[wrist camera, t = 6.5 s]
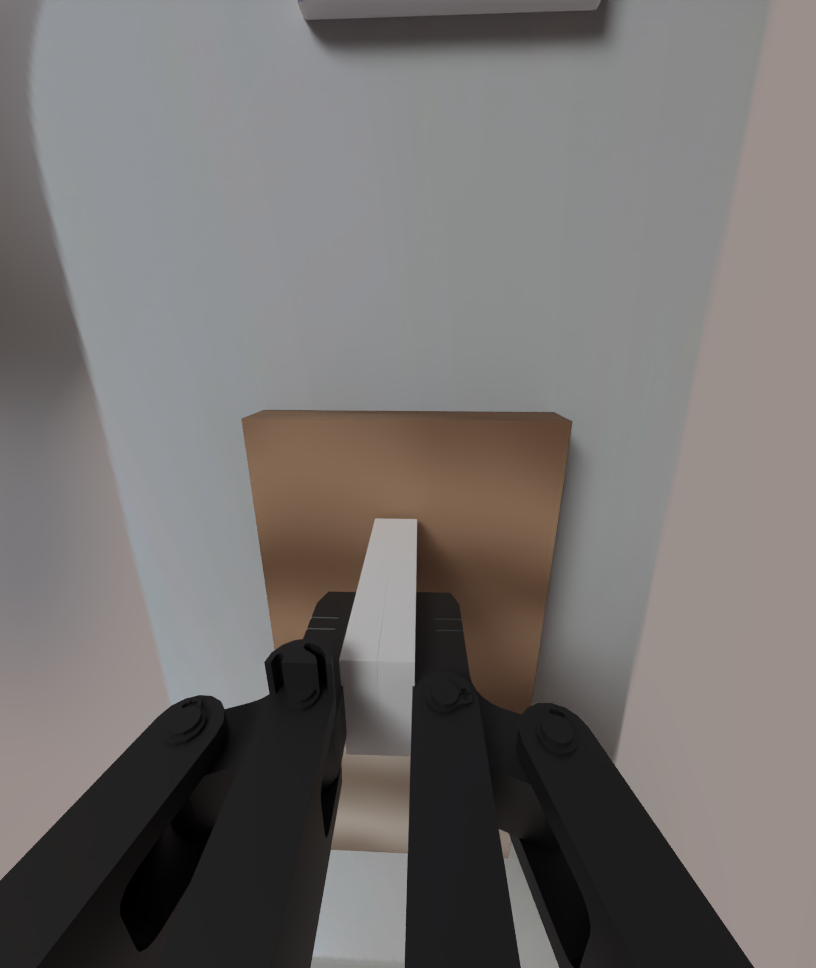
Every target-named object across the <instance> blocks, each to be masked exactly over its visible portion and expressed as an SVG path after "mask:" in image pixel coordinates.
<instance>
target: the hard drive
mask: <svg viewBox="0 0 816 968" xmlns="http://www.w3.org/2000/svg"><path fill="white" fill-rule="evenodd" d="M600 2H601V0H298V4H299V7H300V9H301V12H302V15H303V17H304V19H305V20H322V19H350V18H379V17H408V16H438V15H466V14H495V13H524V12H553V11H587V10H596V9H597V8H598V6H599V4H600Z"/></svg>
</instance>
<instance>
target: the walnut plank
mask: <svg viewBox="0 0 816 968" xmlns="http://www.w3.org/2000/svg"><path fill="white" fill-rule="evenodd" d="M242 426H243V432H244V439H245V446H246V453H247V460H248V467H249V474H250V481H251V488H252V495H253V502H254V509H255V516H256V523H257V530H258V537H259V544H260V551H261V557H262V564H263V571H264V578H265V585H266V592H267V599H268V606H269V613H270V620H271V627H272V634H273V641H274V648H275V650H276V649H277V648H279V647H280V646H281V645H283V644H286V643H288V642H291V641H293V640H299V639H303V637H304V635H305V632H306V630H307V628H308V625H309V622H310V619H312V614H313V612H314V609H315V607H316V604H317V602H318V601H319V600H320V599H321V598H322V597H323V596H324V595H325V594H327V593H328V592H329V591H332V592H357V588H358V584H359V580H360V576H361V572H362V568H363V564H364V560H365V556H366V552H367V548H368V544H369V540H370V537H371V533H372V529H373V525H374V521H375V518H381V519H417V575H416V592H443V593H451V594H452V595H453V597H454V598H455V599H456V601H457V602H458V603H459V605H460V612H461V621H462V625H463V632H464V639H465V645H466V652H467V659H468V665H469V672H470V677H471V680H472V683H473V685H474V687H475V688H476V690H477V691H478V692H479V693H480V694H481V695H482V697H483V698H485V699H486V700H488V701H489V702H491V703H492V704H494V705H496V706H499V707H501V708H503V709H506V710H509V711H513V712H516V713H519V714H523V713H524V711H525V710H526V709H527V708H528V707H530V706H531V703H532V696H533V689H534V683H535V676H536V669H537V662H538V655H539V648H540V641H541V634H542V628H543V621H544V614H545V607H546V600H547V593H548V586H549V579H550V573H551V566H552V559H553V552H554V545H555V538H556V531H557V524H558V517H559V511H560V504H561V497H562V490H563V483H564V476H565V469H566V462H567V456H568V449H569V442H570V435H571V428H572V421H570V420H568V419H566V418H564V417H562V416H560V415H558V414H556V413H554V412H447V411H313V410H263V411H260V412H258V413H255V414H253V415H250V416H247V417H245V418H242Z"/></svg>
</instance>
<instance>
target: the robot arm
mask: <svg viewBox="0 0 816 968" xmlns="http://www.w3.org/2000/svg"><path fill="white" fill-rule="evenodd" d="M416 575H417V519H381V518H375V521H374V525H373V529H372V533H371V537H370V540H369V544H368V548H367V552H366V556H365V560H364V564H363V568H362V572H361V576H360V580H359V584H358V588H357V592H332V591H329V592H328V593H327V594H325V595H324V596H323V597H322V598H321V599H320V600H319V601H318V602H317V604H316V607H315V609H314V612H313V614H312V619H310V622H309V625H308V628H307V630H306V632H305V635H304V637H303V639H299V640H293V641H291V642H288V643H286V644H283V645H281V646H280V647H279V648H277V649H276V650H274V651H273V652H272V653H271V654H270V656H269V657H268V658H267V660H266V661H265V669H266V675H267V681H268V687H269V693H270V694H269V695H268V696H266V697H264V698H262V699H260V700H257V701H254V702H251V703H248V704H244V705H240V706H236V707H232V708H228V709H224V707H223V705H222V703H221V701H220V700H218V699H216V698H214V697H213V696H203V695H199V696H195V697H191V698H187V699H184V700H182V701H180V702H178V703H176V704H174V705H172V706H170V707H169V708H168V709H167V710H166V711H164V712H163V713H162V714H161V715H160V716H159V717H157V718H156V719H155V720H154V722H152V724H151V725H150V726H149V727H148V728H147V729H146V730H145V731H144V732H143V733H142V734H141V735H140V736H139V737H138V738H137V739H136V740H135V741H134V742H133V743H132V744H131V745H130V746H129V747H128V748H127V749H126V751H125V752H124V753H123V754H122V755H121V756H120V757H119V758H118V759H117V760H116V761H115V762H114V763H113V764H112V765H111V766H110V767H109V768H108V769H107V770H106V771H105V772H104V773H103V774H102V776H101V777H100V778H99V779H98V780H97V781H96V782H95V783H94V784H93V785H92V786H91V787H90V788H89V789H88V790H87V791H86V792H85V793H84V794H83V795H82V796H81V798H79V799H78V801H77V802H76V803H75V804H74V805H73V806H72V807H71V808H70V809H69V810H68V811H67V812H66V813H65V814H64V815H63V816H62V817H61V818H60V819H59V820H58V821H57V822H56V823H55V824H54V826H52V828H51V829H50V830H49V831H48V832H47V833H46V834H45V835H44V836H43V837H42V838H41V839H40V840H39V841H38V842H37V843H36V844H35V845H34V846H33V847H32V848H31V849H30V850H29V851H28V852H27V853H26V855H25V856H24V857H23V858H22V859H21V860H20V861H19V862H18V863H17V864H16V865H15V866H14V867H13V868H12V869H11V870H10V871H9V872H8V873H7V874H6V875H5V876H4V877H3V878H2V880H0V968H310V966H311V960H312V955H313V949H314V943H315V937H316V932H317V926H318V920H319V914H320V908H321V903H322V897H323V891H324V885H325V879H326V874H327V868H328V862H329V856H330V850H331V845H332V839H333V833H334V827H335V821H336V816H337V810H338V804H339V798H340V793H341V787H342V764H341V763H342V758H343V752H344V747H345V743H346V754H349V755H380V756H411V758H410V795H409V832H408V868H407V905H406V942H405V968H521V967H520V960H519V954H518V948H517V941H516V935H515V929H514V922H513V916H512V910H511V903H510V897H509V890H508V884H507V878H506V871H505V865H504V859H503V852H502V846H501V840H500V833H499V829H500V830H502V831H505V832H507V833H509V836H510V838H511V841H512V843H513V846H514V849H515V851H516V854H517V857H518V859H519V862H520V865H521V867H522V870H523V872H524V875H525V878H526V880H527V883H528V886H529V888H530V891H531V894H532V896H533V899H534V902H535V904H536V907H537V909H538V912H539V915H540V917H541V920H542V923H543V925H544V928H545V931H546V933H547V936H548V939H549V941H550V944H551V946H552V949H553V952H554V954H555V957H556V960H557V962H558V965H559V968H754V967H753V965H752V964H751V963H750V961H749V960H748V958H747V957H746V955H745V954H744V952H743V951H742V949H741V948H740V947H739V945H738V944H737V942H736V941H735V939H734V938H733V936H732V935H731V933H730V932H729V931H728V929H727V928H726V926H725V925H724V923H723V922H722V920H721V919H720V918H719V916H718V915H717V913H716V912H715V911H714V909H713V907H712V906H711V904H710V903H709V902H708V900H707V899H706V897H705V896H704V894H703V893H702V891H701V890H700V889H699V887H698V886H697V884H696V883H695V881H694V880H693V878H692V877H691V876H690V874H689V873H688V871H687V870H686V868H685V867H684V865H683V864H682V862H681V861H680V859H679V858H678V857H677V855H676V854H675V852H674V851H673V849H672V848H671V846H670V845H669V844H668V842H667V841H666V839H665V838H664V836H663V835H662V833H661V832H660V830H659V829H658V828H657V826H656V825H655V823H654V822H653V820H652V819H651V817H650V816H649V814H648V813H647V812H646V810H645V809H644V807H643V806H642V804H641V803H640V802H639V800H638V799H637V797H636V796H635V794H634V793H633V791H632V790H631V789H630V787H629V785H628V784H627V783H626V781H625V780H624V778H623V777H622V775H621V774H620V772H619V771H618V769H617V768H616V767H615V765H614V764H613V762H612V761H611V759H610V758H609V756H608V755H607V753H606V752H605V751H604V749H603V748H602V746H601V745H600V743H599V742H598V740H597V739H596V738H595V736H594V735H593V733H592V732H591V730H590V729H589V727H588V726H587V725H586V724H585V723H584V722H583V721H582V720H581V719H580V718H579V717H578V716H577V715H576V714H574V713H572V712H571V711H569V710H568V709H566V708H564V707H561V706H558V705H555V704H552V703H537V704H535V705H533V706H530V707H528V708H527V709H526V710H525V711H524V713H523V714H519V713H516V712H513V711H509V710H506V709H503V708H501V707H499V706H496V705H494V704H492V703H491V702H489V701H488V700H486V699H485V698H483V697H482V695H481V694H480V693H479V692H478V691H477V690H476V688H475V687H474V685H473V683H472V680H471V677H470V672H469V665H468V659H467V652H466V645H465V639H464V632H463V625H462V621H461V612H460V605H459V603H458V602H457V601H456V599H455V598H454V597H453V595H452V594H451V593H443V592H416Z"/></svg>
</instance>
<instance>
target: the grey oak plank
mask: <svg viewBox="0 0 816 968" xmlns="http://www.w3.org/2000/svg"><path fill="white" fill-rule="evenodd" d="M410 758H411V756H380V755H349V754H346V743H345V747H344V752H343V758H342V763H341V764H342V787H341V793H340V798H339V804H338V810H337V816H336V821H335V827H334V833H333V839H332V845H331V850H350V851H371V852H391V853H408V832H409V795H410ZM499 833H500V840H501V846H502V852H503V858H508V856H509V850H510V843H511V838H510V836H509V833H507V832H505V831H502V830H500V829H499Z"/></svg>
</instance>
